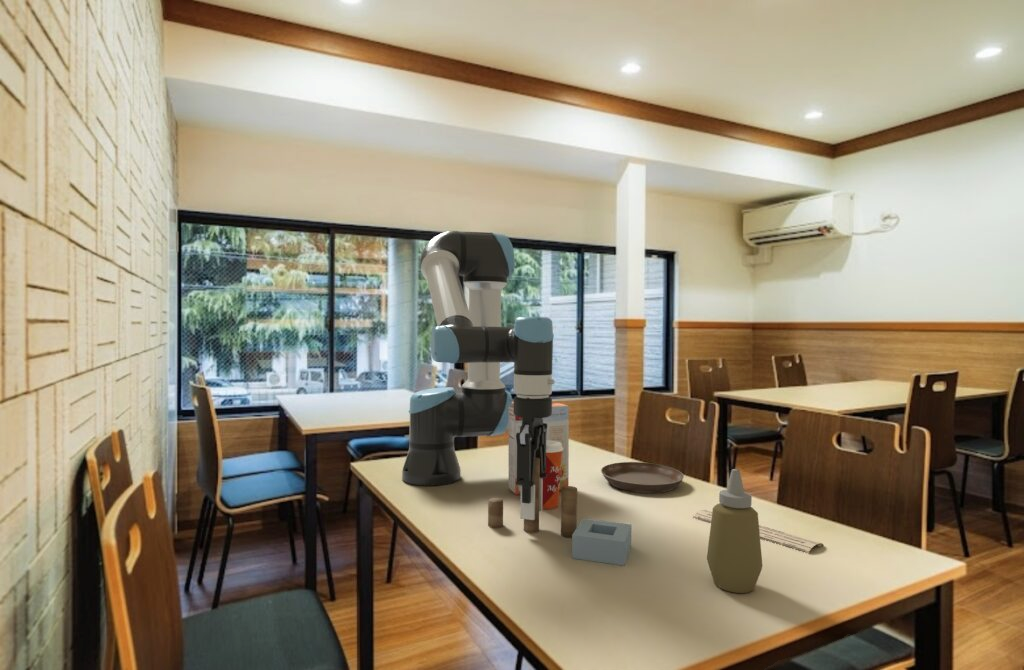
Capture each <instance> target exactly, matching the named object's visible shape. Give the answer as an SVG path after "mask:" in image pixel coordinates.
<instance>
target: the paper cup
mask: <svg viewBox="0 0 1024 670" xmlns="http://www.w3.org/2000/svg"><path fill="white" fill-rule="evenodd" d="M563 450H564V449H563V447H562V444H561V442H558V441H552V440H546V471H545V472H543V473H547V477H546V478H545V477H541V478H543V493H542V510H553V509H556V508H558V506H559V500H560V498H559V497H560V491H559V488H560V474H561V459H562V451H563Z"/></svg>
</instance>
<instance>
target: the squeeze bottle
mask: <svg viewBox="0 0 1024 670" xmlns="http://www.w3.org/2000/svg"><path fill="white" fill-rule="evenodd" d="M718 493H719V494H718V495H719V496H718V497H719V498H718V501H719V503H717V504H715V505H714V506H713V508H712V511H713V512H712V520H711V524H710V528H709V529H710V530H709V537H708V545H707V553H706V561H707V564H708V567H709V571H710V574H711V577H712V579H713V583H714V585H715V586H716V587H718V588H719V589H722V590H724V591H726V592H727V591H728V592H731V593H737V594H748V593H751V592H753V591H754V589H755V588H756V585H757V583H758V580H759V577H760V575H761V572H762V570H763V558H762V557H763V556H762V545H761V539H760V532H759V525H760V524H759V523H760V521H759V513H758V512H757V511H756V510H755V508H753V507H752V498H753V497H752V494H751V493H749V492H747V491H745V489H744V484H743V480H742V475H741V470H739V469H737V468H733V469H731V471H730V475H729V479H728V483H727V487H726V489H723V490H720V491H719V492H718Z"/></svg>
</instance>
